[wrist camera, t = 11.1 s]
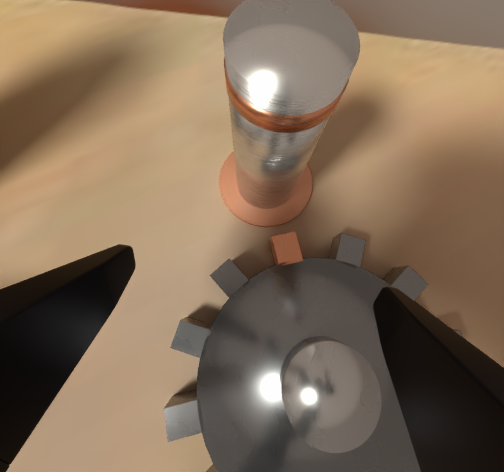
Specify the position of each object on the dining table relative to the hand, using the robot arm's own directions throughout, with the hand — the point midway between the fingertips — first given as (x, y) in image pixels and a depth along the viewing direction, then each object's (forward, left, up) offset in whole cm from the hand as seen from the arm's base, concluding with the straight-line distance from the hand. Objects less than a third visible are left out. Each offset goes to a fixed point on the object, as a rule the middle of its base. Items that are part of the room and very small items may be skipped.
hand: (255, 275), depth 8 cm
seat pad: (+7, -2, -8) cm, 11 cm away
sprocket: (-6, -4, -8) cm, 10 cm away
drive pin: (+7, -2, -7) cm, 11 cm away
